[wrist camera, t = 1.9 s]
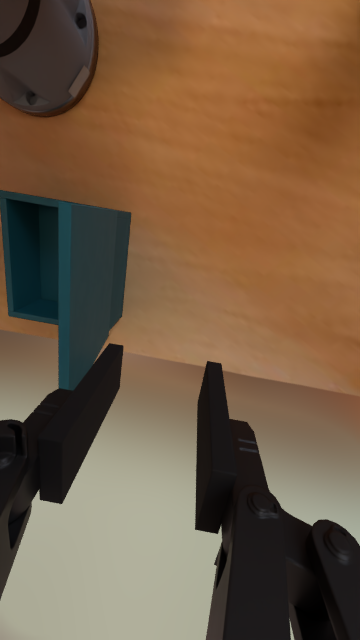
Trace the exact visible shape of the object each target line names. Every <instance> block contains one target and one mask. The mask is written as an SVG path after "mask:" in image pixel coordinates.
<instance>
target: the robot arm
mask: <svg viewBox="0 0 360 640" xmlns="http://www.w3.org/2000/svg"><path fill="white" fill-rule="evenodd" d="M97 57H98V30H97V23H96V18H95V14H94V10H93V7H92V4H91V1H90V0H0V98H1V99H3V100H4V101H6V102H7V103H9V104H10V105H12V106H14V107H15V108H17V109H19V110H21V111H23V112H25V113H27V114H31V115H35V116H43V117H46V116H54V115H58V114H61V113H63V112H65V111H67V110H69V109H70V108H72V107H73V106H74V105H75V104H76V103H77V102H78V101H79V100H80V99H81V98H82V97H83V95H84V94H85V92H86V91H87V89H88V87H89V85H90V83H91V81H92V78H93V76H94V72H95V69H96V64H97ZM122 356H123V346H122V345H116V344H111V343H109V345H108V346H107V347H106V349H105V350H104V351H103V352H102V354H101V355H100V356H99V358H98V359H97V360H96V362H95V363H94V364H93V366H92V367H91V368H90V369H89V371H88V372H87V373H86V375H85V376H84V377H83V379H82V380H81V381H80V382H79V384H78V385H77V386H76V388H75V389H74V390H73V391H72V390H67V389H61V388H59V389H57V390H55V391H54V392H52V393H50V394H48V395H47V396H46V398H45V399H44V400H43V401H42V402H41V403H40V405H38V406H37V408H36V409H35V410H34V412H32V413H31V414H30V415H29V417H28V418H27V419H26V420H25V421H24V422H23V423H22V422H20V421H18V420H2V421H0V599H1V596H2V593H3V590H4V588H5V585H6V582H7V579H8V576H9V573H10V571H11V568H12V565H13V562H14V559H15V556H16V554H17V551H18V548H19V545H20V542H21V539H22V537H23V534H24V531H25V528H26V525H27V523H28V520H29V517H30V514H31V507H32V504H31V502H32V500H33V498H34V497H35V495H36V493H37V492H38V490H39V492H40V500H43V501H49V502H54V503H59V504H62V503H63V501H64V499H65V497H66V495H67V493H68V491H69V489H70V487H71V485H72V483H73V481H74V479H75V477H76V474H77V473H78V471H79V469H80V467H81V465H82V463H83V461H84V459H85V457H86V455H87V453H88V450H89V448H90V447H91V444H92V443H93V440H94V438H95V436H96V435H97V433H98V430H99V428H100V426H101V424H102V422H103V420H104V418H105V416H106V414H107V412H108V410H109V408H110V406H111V404H112V402H113V400H114V398H115V396H116V394H117V392H118V390H119V387H120V377H121V367H122ZM197 418H198V419H197V465H196V519H195V520H196V521H195V522H196V523H195V530H200V531H205V532H210V533H216V534H218V532H219V529H220V526H221V527H222V543H221V547H220V549H219V552H218V555H217V557H216V560H215V563H214V565H216V566H217V568H216V574H215V581H214V588H213V595H212V602H211V609H210V615H209V622H208V629H207V636H206V640H291V638H290V622H291V627H292V630H293V635H294V639H295V640H360V546H359V544H358V543H357V541H356V539H355V538H354V537H353V536H352V535H351V534H350V533H349V532H348V531H347V530H346V529H344V528H343V527H341V526H340V525H339V524H337V523H335V522H332V521H329V520H318V521H317V522H315V523H314V524H313V526H311V525H309V524H307V523H305V522H303V521H301V520H299V519H297V518H295V517H293V516H292V515H290V514H289V513H287V512H286V511H284V510H283V509H282V508H281V506H280V504H279V502H278V501H277V499H276V497H275V496H274V495H273V494H271V493H270V491H269V489H268V485H267V481H266V477H265V474H264V469H263V466H262V461H261V458H260V454H259V450H258V446H257V442H256V438H255V434H254V431H253V430H252V429H251V427H250V426H249V424H248V423H247V422H244V421H238V420H233V419H229V413H228V406H227V400H226V393H225V386H224V379H223V372H222V365H221V363H215V362H210V361H207V364H206V368H205V373H204V377H203V382H202V386H201V390H200V395H199V399H198V411H197ZM289 618H290V620H289Z"/></svg>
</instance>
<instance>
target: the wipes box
mask: <svg viewBox="0 0 360 640" xmlns="http://www.w3.org/2000/svg"><path fill="white" fill-rule="evenodd" d="M58 202H66V203H72V204H79V203H73V202H67V201H62V200H56V199H50V198H44V197H39V196H33V195H27V194H21V193H15V192H9V191H3V190H0V209H1V222H2V236H3V249H4V263H5V276H6V289H7V303H8V315H9V316H11V317H17V318H22V319H28V320H33V321H39V322H44V323H50V324H55V325H58ZM79 205H84V204H79ZM85 206H90V205H85ZM92 207H96V206H92ZM98 208H101V207H98ZM105 209H107V208H105ZM111 210H113V209H111ZM117 211H118V213H117V226H116V240H115V254H114V268H113V281H112V295H111V309H110V323H109V331H110V329H111V328H112V327H113V326H114V325H115V324H116V322H117V321H118V320H119V319H120V318H121V317H122V311H123V300H124V288H125V277H126V266H127V255H128V244H129V233H130V222H131V213H130V212H124V211H119V210H117Z"/></svg>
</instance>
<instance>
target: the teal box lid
mask: <svg viewBox="0 0 360 640" xmlns="http://www.w3.org/2000/svg"><path fill="white" fill-rule="evenodd" d="M117 213H118V211H117V210H111V209H105V208H98V207H92V206H85V205H79V204H72V203H66V202H58V330H59V388H61V389H67V390H72V391H73V390H74V389H75V388H76V386H77V385H78V384H79V382H80V381H81V380H82V379H83V377H84V376H85V375H86V373H87V372H88V371H89V369H90V368H91V367H92V365H93V363H94V361H95V360H96V358H97V356H98V354H99V352H100V350H101V349H102V347H103V345H104V343H105V341H106V339H107V338H108V336H109V323H110V309H111V295H112V281H113V268H114V254H115V240H116V226H117Z"/></svg>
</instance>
